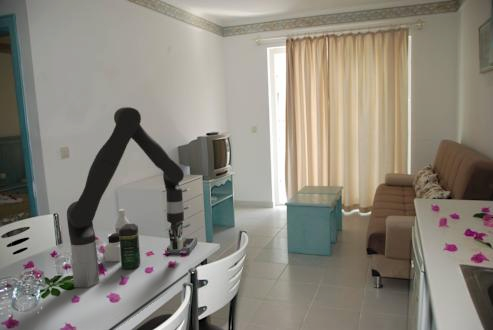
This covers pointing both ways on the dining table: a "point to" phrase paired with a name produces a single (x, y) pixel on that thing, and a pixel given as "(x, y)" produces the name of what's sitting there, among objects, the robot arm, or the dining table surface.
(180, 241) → the sage block
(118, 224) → the bath foam
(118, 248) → the medicine bottle
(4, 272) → the dining table surface
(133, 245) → the coffee jar
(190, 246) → the tray
